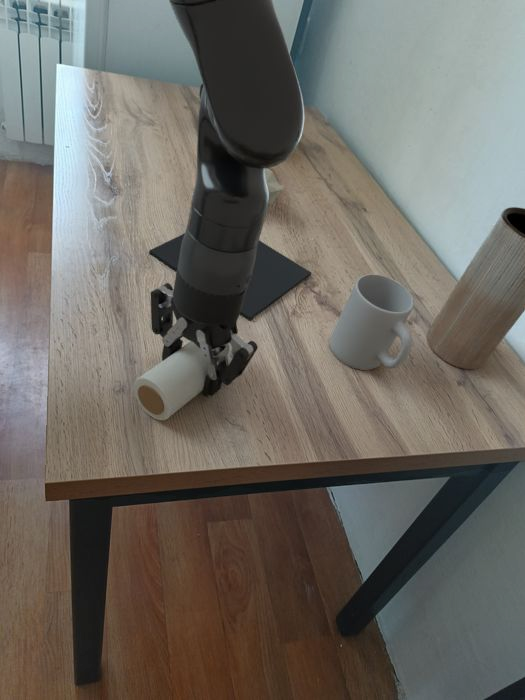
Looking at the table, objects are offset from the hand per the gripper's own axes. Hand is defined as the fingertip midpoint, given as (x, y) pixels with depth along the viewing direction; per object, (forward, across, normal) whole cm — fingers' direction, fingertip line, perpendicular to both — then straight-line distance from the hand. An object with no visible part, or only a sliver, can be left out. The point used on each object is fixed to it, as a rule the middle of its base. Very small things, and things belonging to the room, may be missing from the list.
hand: (189, 378), depth 66 cm
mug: (+1, +14, +23) cm, 27 cm away
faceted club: (+1, -26, +50) cm, 56 cm away
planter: (+1, +24, +38) cm, 45 cm away
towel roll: (+1, 0, 0) cm, 1 cm away
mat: (+1, -12, +25) cm, 28 cm away
